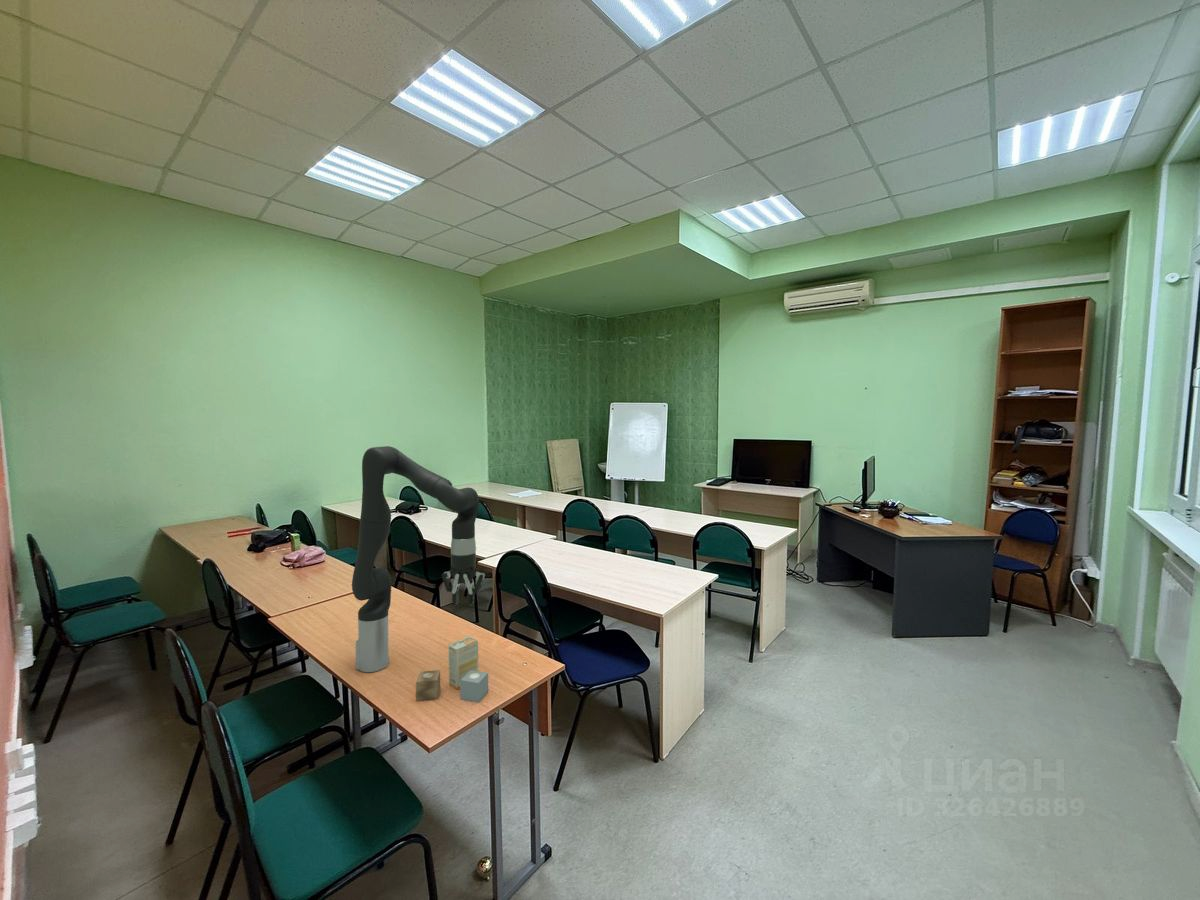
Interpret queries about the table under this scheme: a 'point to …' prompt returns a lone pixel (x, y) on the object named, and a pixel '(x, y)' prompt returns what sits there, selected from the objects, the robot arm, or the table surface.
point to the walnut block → (428, 685)
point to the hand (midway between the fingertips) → (463, 604)
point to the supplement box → (462, 659)
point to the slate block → (474, 686)
